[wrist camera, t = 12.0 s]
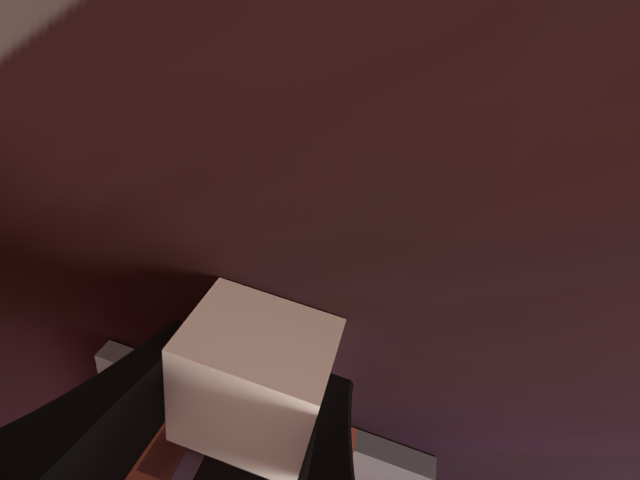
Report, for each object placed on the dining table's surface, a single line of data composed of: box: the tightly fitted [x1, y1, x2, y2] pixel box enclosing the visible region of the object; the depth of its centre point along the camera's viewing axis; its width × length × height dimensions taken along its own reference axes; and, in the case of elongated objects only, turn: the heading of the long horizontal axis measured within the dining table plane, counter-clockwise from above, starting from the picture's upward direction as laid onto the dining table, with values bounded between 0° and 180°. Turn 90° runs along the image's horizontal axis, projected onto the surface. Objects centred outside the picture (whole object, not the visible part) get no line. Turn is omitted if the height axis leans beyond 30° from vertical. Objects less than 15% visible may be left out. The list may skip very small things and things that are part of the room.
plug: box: [162, 277, 346, 480], centre depth 14 cm, size 10×4×3 cm, turn 169°
